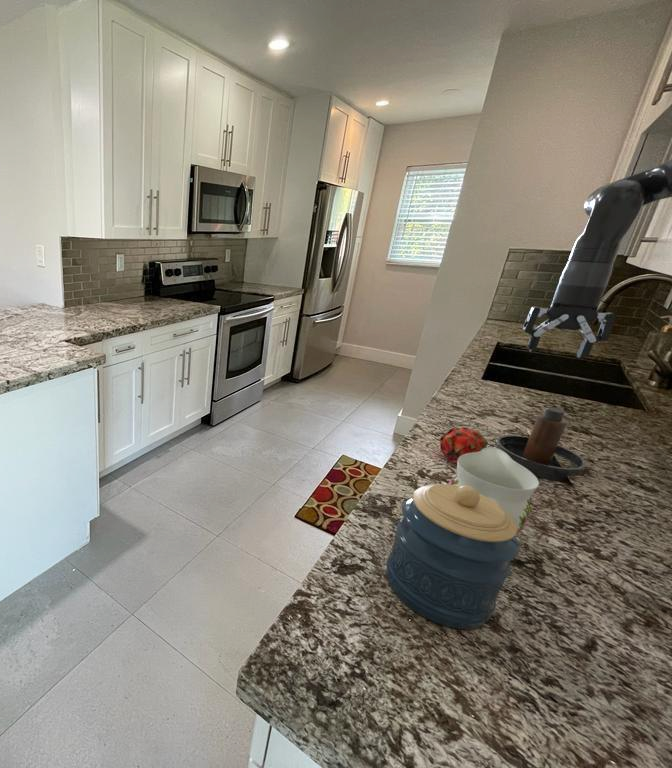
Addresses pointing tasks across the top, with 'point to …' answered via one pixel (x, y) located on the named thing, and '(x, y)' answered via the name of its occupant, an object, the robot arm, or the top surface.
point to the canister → (452, 555)
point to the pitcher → (498, 481)
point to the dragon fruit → (461, 443)
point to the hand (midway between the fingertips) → (555, 354)
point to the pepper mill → (545, 436)
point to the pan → (554, 471)
